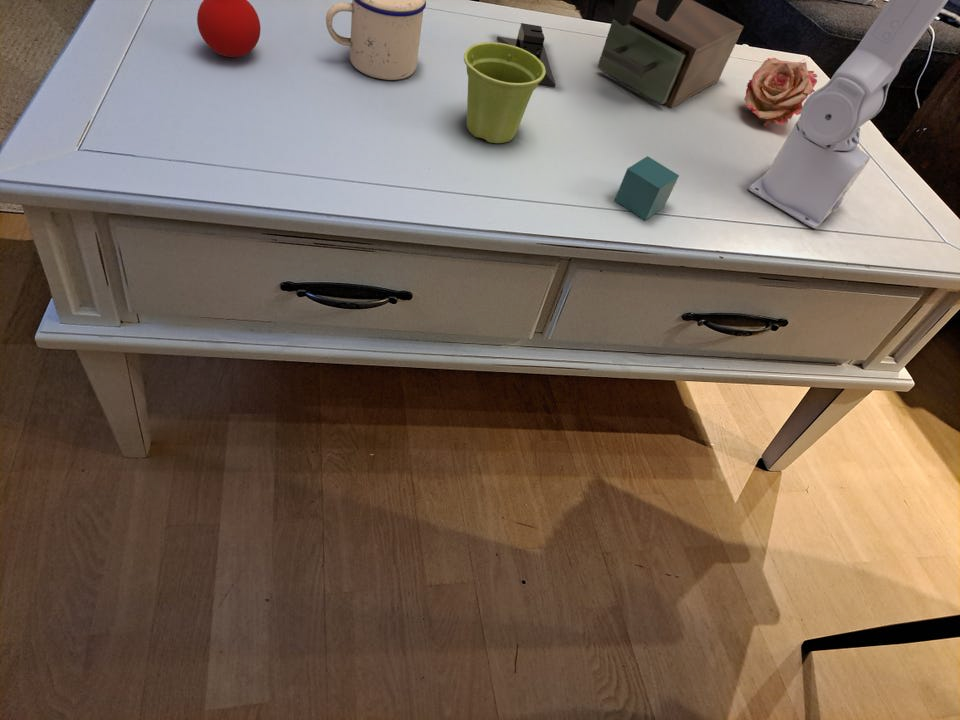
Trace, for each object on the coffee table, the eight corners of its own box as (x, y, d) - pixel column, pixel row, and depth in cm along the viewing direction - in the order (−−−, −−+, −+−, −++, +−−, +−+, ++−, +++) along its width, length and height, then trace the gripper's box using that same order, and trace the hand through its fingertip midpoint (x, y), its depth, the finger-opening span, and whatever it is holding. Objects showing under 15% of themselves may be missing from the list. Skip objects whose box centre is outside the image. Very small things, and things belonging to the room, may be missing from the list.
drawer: (644, 114, 93) (664, 65, 87) (578, 75, 96) (593, 26, 91) (706, 80, 103) (727, 35, 98) (645, 46, 107) (661, 1, 102)
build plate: (555, 89, 95) (564, 56, 91) (503, 82, 93) (511, 48, 90) (542, 45, 102) (551, 13, 99) (494, 38, 101) (501, 5, 97)
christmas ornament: (210, 70, 81) (200, -19, 74) (193, 41, 85) (182, -47, 77) (269, 66, 84) (266, -20, 77) (251, 37, 88) (246, -47, 80)
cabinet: (670, 108, 97) (696, 48, 91) (600, 67, 101) (619, 7, 95) (717, 82, 105) (744, 26, 99) (650, 45, 110) (671, -11, 103)
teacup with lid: (409, 48, 94) (419, -44, 85) (425, 83, 89) (437, -11, 80) (320, 44, 90) (321, -53, 81) (330, 80, 85) (333, -19, 76)
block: (664, 206, 81) (679, 175, 77) (645, 220, 78) (659, 188, 75) (634, 187, 82) (647, 155, 79) (614, 200, 80) (627, 168, 76)
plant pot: (472, 156, 80) (486, 86, 73) (440, 111, 85) (451, 42, 78) (540, 148, 84) (560, 81, 77) (506, 106, 89) (522, 40, 82)
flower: (758, 81, 104) (762, 43, 97) (820, 95, 101) (829, 58, 93) (731, 134, 103) (732, 100, 96) (792, 150, 100) (799, 117, 92)
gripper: (702, -112, 84) (660, 2, 95) (616, -114, 78) (580, 9, 88) (743, -89, 81) (695, 26, 91) (656, -89, 74) (615, 36, 84)
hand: (641, 20), depth 89 cm, fingers open, 7 cm apart
